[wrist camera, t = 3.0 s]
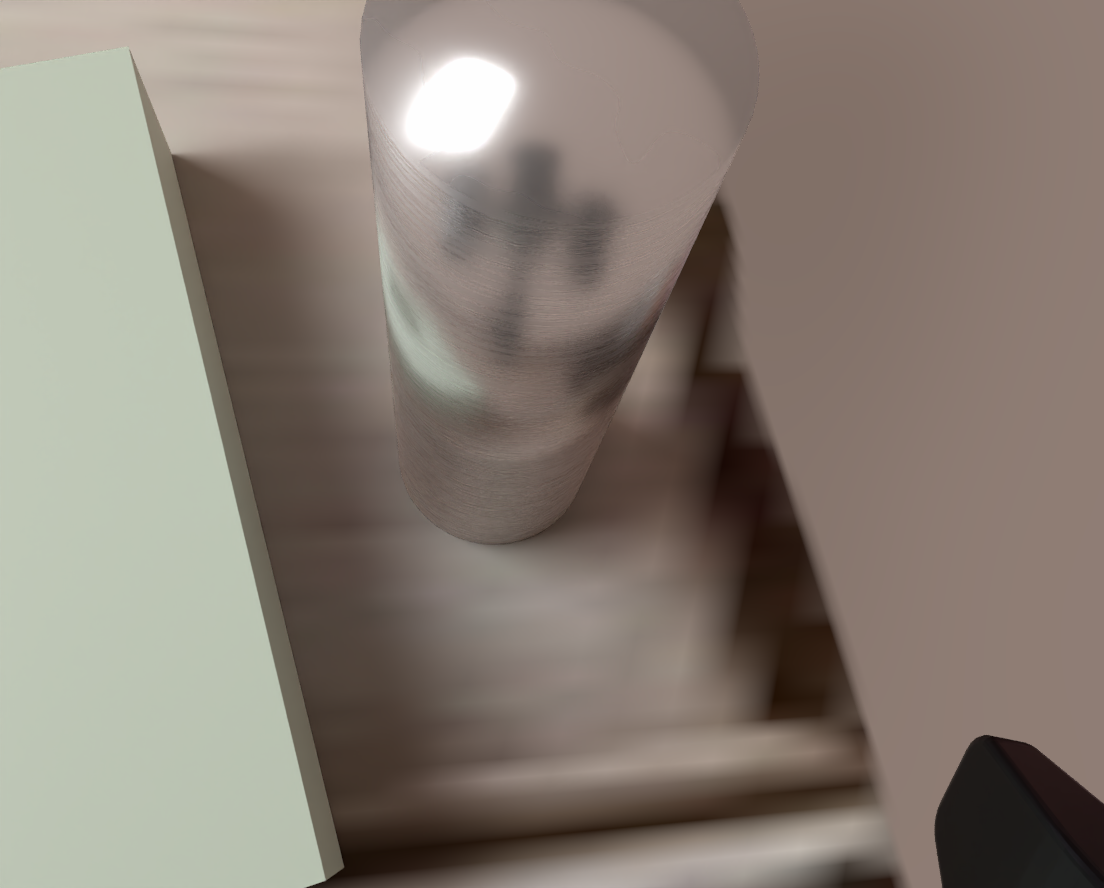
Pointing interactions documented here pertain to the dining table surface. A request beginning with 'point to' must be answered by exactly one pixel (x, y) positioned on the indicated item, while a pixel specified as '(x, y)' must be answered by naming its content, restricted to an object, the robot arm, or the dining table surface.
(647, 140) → the steel pin
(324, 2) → the dining table surface
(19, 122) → the socket block
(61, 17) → the dining table surface
